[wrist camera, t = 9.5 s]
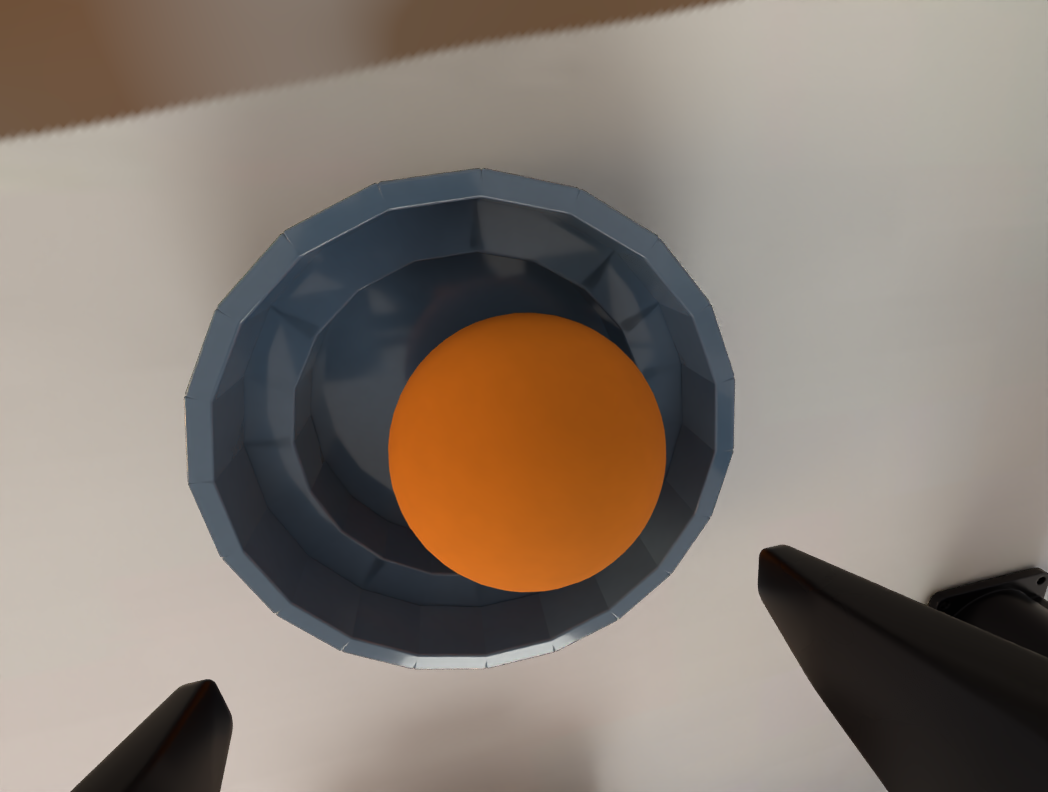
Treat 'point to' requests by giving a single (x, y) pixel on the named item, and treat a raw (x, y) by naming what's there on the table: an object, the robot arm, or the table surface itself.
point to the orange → (527, 452)
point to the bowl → (378, 380)
